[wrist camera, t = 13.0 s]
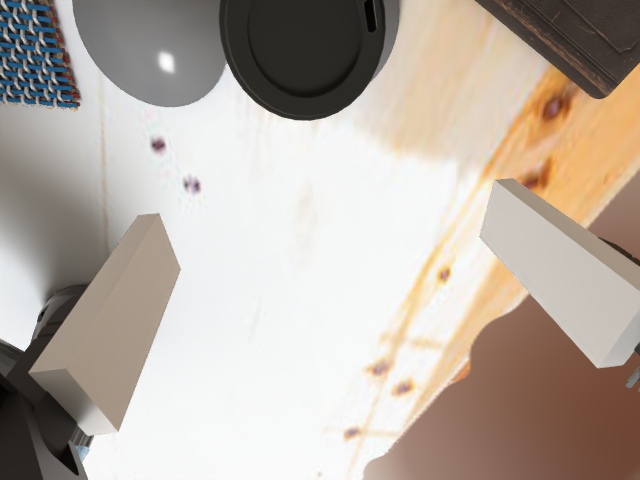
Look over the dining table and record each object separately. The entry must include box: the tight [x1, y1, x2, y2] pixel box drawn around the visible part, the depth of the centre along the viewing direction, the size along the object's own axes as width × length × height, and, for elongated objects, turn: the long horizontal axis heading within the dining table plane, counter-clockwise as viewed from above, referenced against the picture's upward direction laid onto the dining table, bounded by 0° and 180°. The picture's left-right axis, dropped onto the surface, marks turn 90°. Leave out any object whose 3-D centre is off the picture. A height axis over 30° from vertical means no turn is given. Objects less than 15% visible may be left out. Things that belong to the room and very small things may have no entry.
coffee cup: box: [219, 0, 386, 121], centre depth 24 cm, size 10×10×15 cm
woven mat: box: [0, 0, 80, 111], centre depth 30 cm, size 10×11×2 cm
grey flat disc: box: [72, 0, 227, 107], centre depth 30 cm, size 13×13×1 cm
